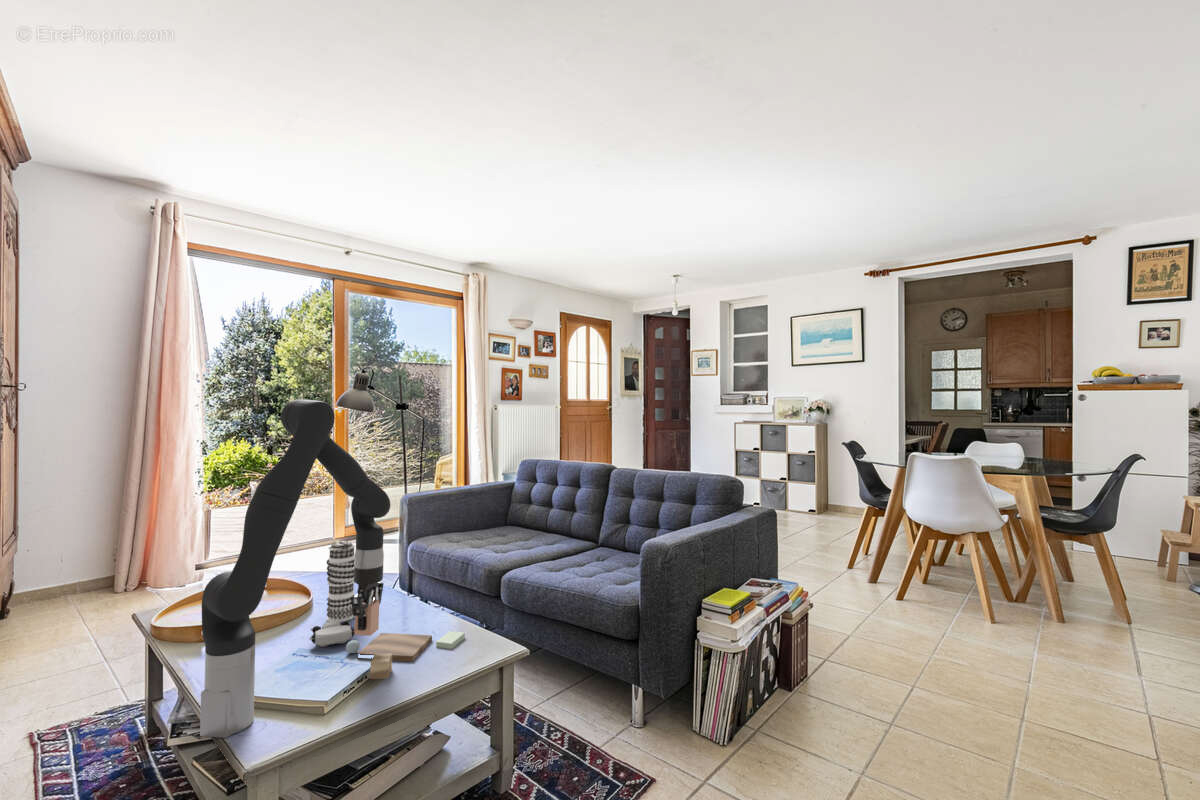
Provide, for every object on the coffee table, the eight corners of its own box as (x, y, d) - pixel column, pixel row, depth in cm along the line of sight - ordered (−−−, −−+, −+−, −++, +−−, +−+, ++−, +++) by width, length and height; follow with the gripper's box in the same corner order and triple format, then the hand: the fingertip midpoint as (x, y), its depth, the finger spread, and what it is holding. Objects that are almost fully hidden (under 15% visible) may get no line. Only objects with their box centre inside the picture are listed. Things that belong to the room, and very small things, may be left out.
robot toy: (308, 638, 171) (310, 653, 158) (308, 623, 171) (310, 637, 158) (351, 630, 177) (357, 644, 164) (352, 616, 177) (357, 629, 164)
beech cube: (388, 678, 144) (388, 661, 145) (370, 679, 144) (370, 662, 144) (391, 670, 149) (392, 653, 149) (374, 671, 148) (374, 654, 148)
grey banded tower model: (345, 623, 180) (346, 546, 180) (319, 621, 181) (320, 545, 181) (361, 613, 189) (362, 539, 189) (336, 611, 190) (338, 538, 190)
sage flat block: (451, 650, 162) (451, 643, 162) (436, 648, 163) (436, 641, 163) (464, 639, 170) (464, 632, 170) (450, 637, 171) (450, 631, 171)
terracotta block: (370, 635, 150) (371, 605, 151) (354, 634, 151) (355, 605, 151) (378, 629, 155) (379, 600, 155) (362, 628, 155) (364, 599, 155)
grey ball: (355, 656, 156) (355, 643, 157) (343, 655, 157) (343, 643, 157) (362, 650, 160) (362, 638, 160) (350, 650, 160) (350, 637, 160)
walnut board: (412, 661, 154) (412, 656, 154) (357, 658, 155) (357, 653, 155) (431, 640, 168) (432, 635, 168) (381, 637, 169) (381, 632, 169)
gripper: (369, 571, 146) (366, 637, 145) (393, 557, 160) (391, 617, 160) (341, 570, 146) (339, 635, 146) (368, 556, 161) (366, 616, 160)
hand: (366, 625), depth 153 cm, fingers closed on terracotta block, 4 cm apart
